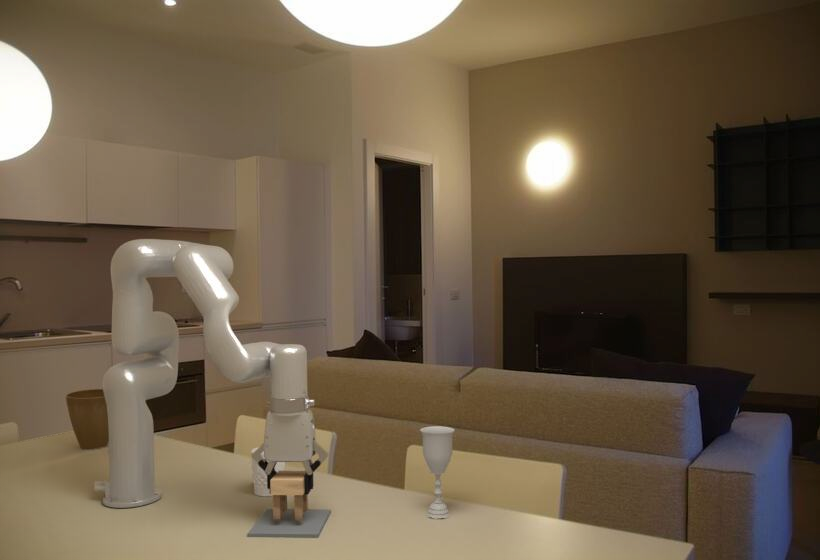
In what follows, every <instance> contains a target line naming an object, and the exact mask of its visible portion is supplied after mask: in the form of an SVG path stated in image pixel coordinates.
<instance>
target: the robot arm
mask: <svg viewBox="0 0 820 560" xmlns="http://www.w3.org/2000/svg"><path fill="white" fill-rule="evenodd" d="M234 266H235V265H234V260H233V258H232V256H231V255H230V253H229V252H228V251H227V250H226V249H225V248H223V247H221V246H217V245H210V244H209V245H208V244H203V243H198V242H191V241H186V240H185V241H184V240H175V239H172V240H171V239H159V238H158V239H156V238H139V239H133V240H129V241H126V242H124V243H123V244H121V245H120V246H119V247H118V248H117V249H116V250H115V252H114V254H113V256H112V258H111V261H110V278H111V288H112V305H111V306H112V308H111V309H112V310H111V311H112V313H111V343H112V347H113V349H114V350H115V352H116V353H118V354H119V355H122V356H137V355H143V354H144V358H137V359H132V360H126V361H122V362H119V363H118V362H117V364H114V365H112V366H111V367H110V368H108V369H107V371H106V372H105V373H104V376H103V378H102V389H103V391H104V396H105V400H106V405H107V411H108V429H109V442H108V460H109V461H108V463H109V464H108V465H109V467H108V468H109V469H108V470H109V479H108V480H99V479H97V480H95V481H94V484H93V487H94V488H93V490H94V492H104V493H105V494H104V495H103V497H102V504H103V505H104V506H106V507H109V508H115V509H123V508H124V509H125V508H129V509H130V508H135V507H140V506H141V507H142V506H146V505H149V504H152V503H154V502H156V501H158V500H160V499H161V498H162V497H163V491H162V489H161V488H160V487H158V486H155V485H156V484H155V483H156V481H155V442H154V441H155V433H154V419H153V414H152V412H151V410H150V408H149V406H148V405H147V401H148V400H151V399H155V398H159V397H163V396H165V395H167V394H169V393H170V392H171V391H172V390H173V389H174V388H175V386H176V384H177V379H178V372H179V352H180V351H179V349H180V345H179V344H180V331H179V328H178V325H177V322H176V321H175V319H174V318H173V317H172V316H171V315H170V314H168V313H167V312H164V311H159V310H158V311H153V308H154V307H153V305H154V296H153V291H152V289H151V285H150V283H149V282H148V280H147V278H166V277H167V278H169V277H170V278H171V277H172V278H177V279H178V281H179V282H180V284H181V285H182V287H183V289H184V290H185V292H186V293H187V294H188V296H189V297H190V299H191V300H192V302H193V303H194V306H196V308H197V310H198V311H199V313H200V314H201V316H202V317H203V324H202V332H203V340H204V345H205V348H206V351H207V353H208V355H209V356H210V358H211V359H212V361H213V362H214V364H215V365H216V367H217V369H218V370H219V371H220V372H221V374H223V375H224V377H226V379H227V380H229V381H230V382H233V383H237V384H238V383H239V384H242V383H248V382H251V381H255V380H260V379H265V378H268V377H269V396H270V397H269V401H270V405H269V406H270V408H269V409H270V410H268V411H267V414H266V419H265V425H264V434H263V435H264V436H263V437H264V438H263V443H262V444H261V445H260V446H259V448H258V449H257V450H256V451H255V452H254V453H253V454H252V455H251V454H250V457H252V458H253V459H254V460H255V461H256V463H258V465H259V466H260V467H261V468H262V469H263V470H264V471H265V474H266V475H267V488H268V489H270V480H271V479H272V478H273V477H274V476H275V474H276V473H277V472H276V471H275V469H274V468H275V466H276V463H277V462H285V463H301V464H302V466H303V468H304V471H306V474H305V475H304V485H305V493H304V494H305V495H308V496H309V494H310V492H311V491H312V490H313V489H314V472H315V471H316V470H317V469H319V467H320V466H321V465H322V464H323V463H324V462H325V461H326V459H327V458H328V456H329V452H328V451H326V450H325V449H324V448H323V447H322V446H321V445H320V444H319V443H318V442H317V440H316V439H317V437H316V427H315V420H314V414H313V411H312V410H311V409H309V408H310V407H314V406H315V403H316V402H315V399H311V398H309V395H308V355H307V354H308V353H307V349H306V347H305V346H304V345H302V344H296V343H295V344H294V343H286V344H285V343H284V344H283V343H282V344H280V343H275V342H272V341H258V342H257V341H256V342H250V343H246V344H242V343H241V341H240V340H239V339H238V337H237V336H236V334H235V332H234V331H233V328H232V327H231V324H230V318H229V317H230V314H231V313H232V312H233V311H234V310H235V309H236V308H237V307H238V305H239V302H240V297H239V295H238V293H237V292H236V289H234V288H233V286H232V284H231V283H230V282H229V279H230V278H231V277H232V275H233V273H234ZM263 451H264V458H265V459H266V460H267V461H269V463H268V462H267V461H266V460H265V459H263V458H262V456H261V453H262V452H263ZM316 454H317V455H318V458H317V459H316V460H315V461H314V462H313V461H312V459H313V457H314V456H315V455H316ZM252 458H251V459H252ZM270 494H271V489H270Z"/></svg>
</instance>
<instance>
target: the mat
mask: <svg viewBox="0 0 820 560" xmlns="http://www.w3.org/2000/svg"><path fill="white" fill-rule="evenodd" d="M331 513H332V509H328V508H327V509H321V508H320V509H319V508H318V509H311V508H308V510H307V512H303V518H302V519H295V508H292V509H291V508H287V510H286V511H285V512H282V517H281V519H273V508H266V509H265V510H264V512H263V513H262V514H261V515H260V517H259V518H258V519H257V521H256V522H255V523H254V524H253V525H252V527H251V528H250V529H249V530H248V532H247V533H246V535H247V537H248V538H249V537H251V538H252V537H254V538H256V537H257V538H258V537H259V538H319V537H320V535H321V533H322V531H323V529H324V527H325V525H326V523H327V522H328V520H329V517H330V515H331Z"/></svg>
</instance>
